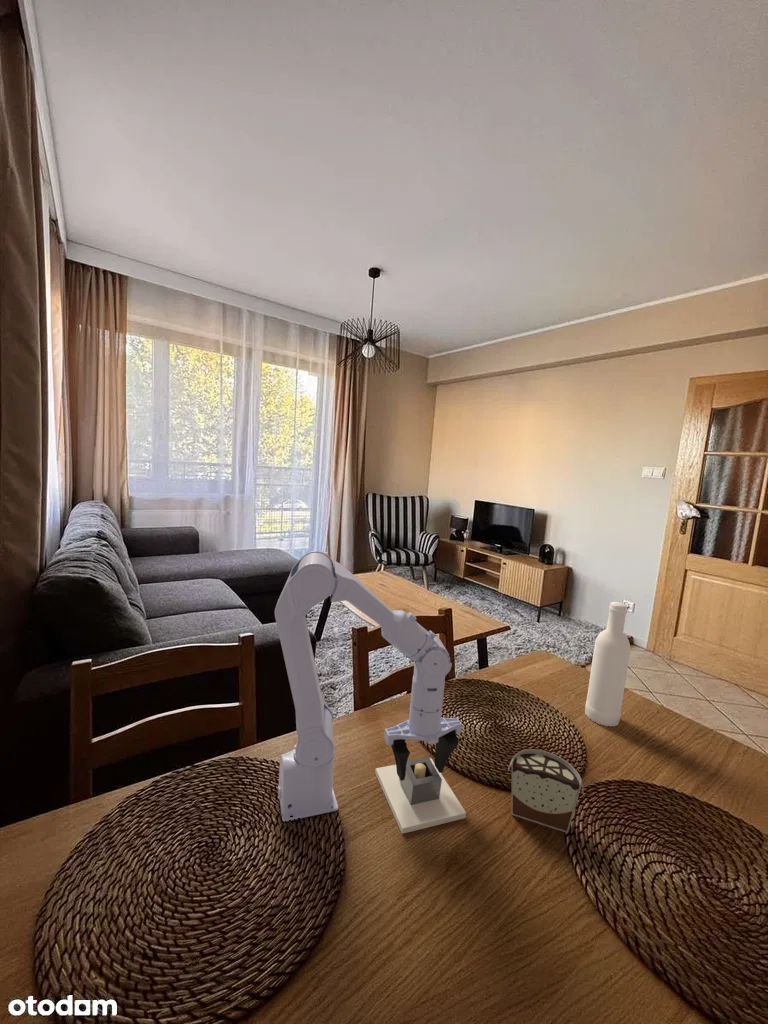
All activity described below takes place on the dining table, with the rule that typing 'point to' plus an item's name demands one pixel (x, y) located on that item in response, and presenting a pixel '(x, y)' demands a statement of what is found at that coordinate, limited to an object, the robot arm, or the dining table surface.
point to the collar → (421, 782)
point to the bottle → (609, 670)
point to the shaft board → (419, 813)
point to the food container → (544, 788)
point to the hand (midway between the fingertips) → (419, 772)
